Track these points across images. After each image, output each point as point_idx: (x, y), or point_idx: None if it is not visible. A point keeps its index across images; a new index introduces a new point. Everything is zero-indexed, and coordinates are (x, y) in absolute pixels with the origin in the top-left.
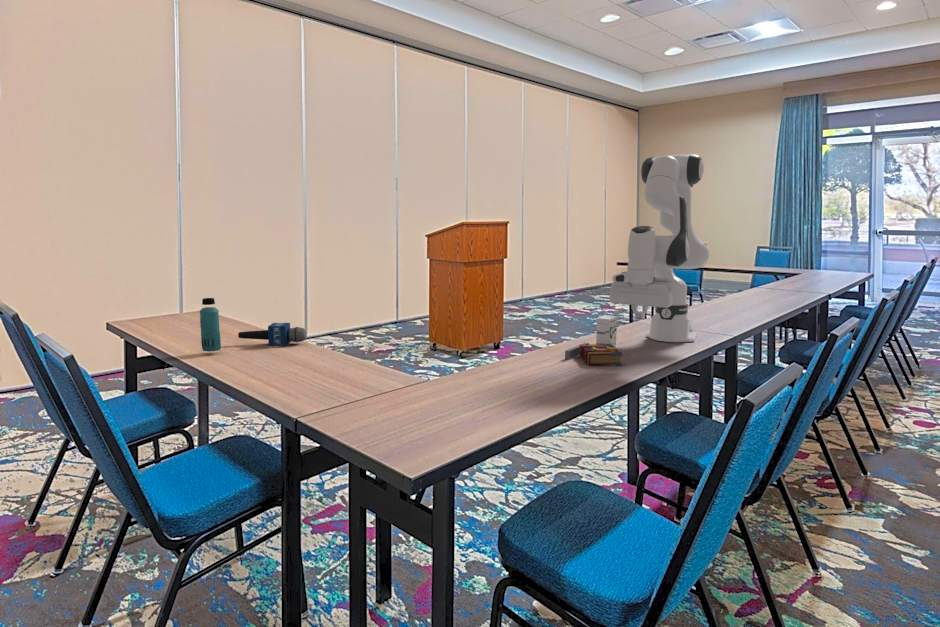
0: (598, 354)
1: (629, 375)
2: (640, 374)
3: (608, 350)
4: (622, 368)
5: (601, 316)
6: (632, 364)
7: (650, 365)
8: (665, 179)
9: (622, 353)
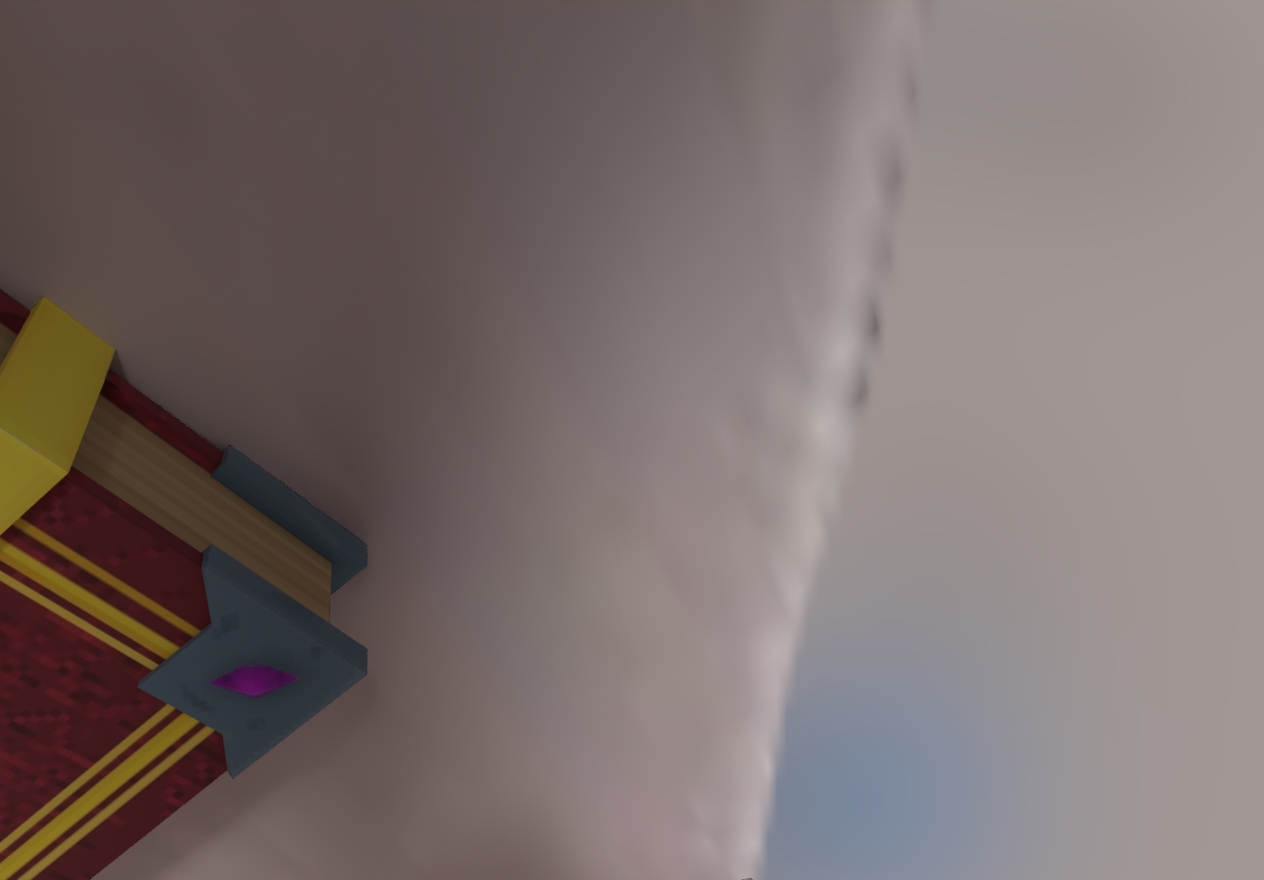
0: (90, 869)
1: (662, 808)
2: (745, 715)
3: (23, 635)
4: (450, 645)
5: None
6: (442, 389)
7: (691, 270)
8: None
9: (365, 672)
